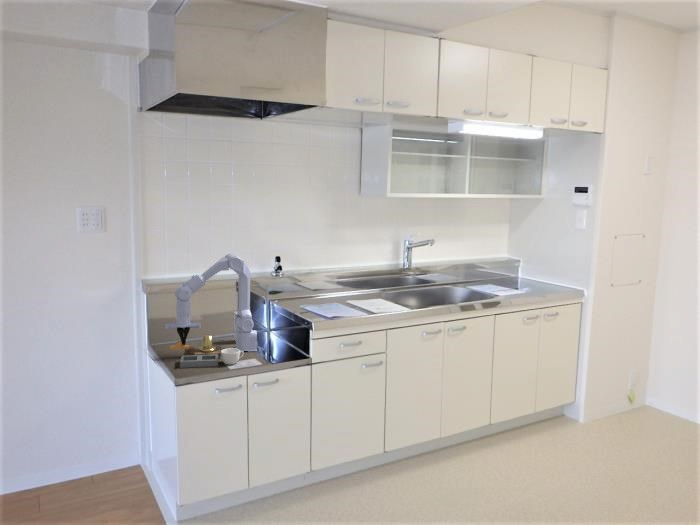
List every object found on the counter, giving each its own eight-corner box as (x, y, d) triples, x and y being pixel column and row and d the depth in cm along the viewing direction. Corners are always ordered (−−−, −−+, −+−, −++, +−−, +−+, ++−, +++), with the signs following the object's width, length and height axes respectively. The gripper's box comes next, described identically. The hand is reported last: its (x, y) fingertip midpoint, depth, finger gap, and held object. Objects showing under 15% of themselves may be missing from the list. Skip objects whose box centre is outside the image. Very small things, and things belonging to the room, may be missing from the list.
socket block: (220, 351, 259) (220, 343, 258) (220, 358, 248) (220, 350, 248) (186, 352, 256) (185, 344, 255) (184, 360, 245) (184, 352, 245)
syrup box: (236, 343, 271) (236, 313, 269) (233, 340, 277) (233, 311, 275) (248, 342, 274) (248, 313, 271) (245, 339, 279) (245, 310, 277)
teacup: (225, 367, 238) (225, 354, 237) (217, 362, 244) (217, 349, 243) (247, 363, 244) (247, 350, 243) (239, 358, 250) (239, 346, 249)
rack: (218, 359, 247) (218, 354, 247) (217, 366, 239) (217, 360, 238) (181, 361, 244) (181, 355, 243) (180, 367, 236) (180, 361, 235)
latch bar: (189, 347, 251) (189, 340, 251) (188, 348, 249) (188, 341, 249) (170, 347, 250) (169, 341, 249) (169, 349, 247) (169, 342, 247)
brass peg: (216, 352, 257) (215, 333, 255) (215, 357, 250) (215, 337, 249) (199, 353, 255) (199, 333, 254) (199, 358, 248) (198, 338, 247)
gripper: (164, 316, 242) (165, 347, 244) (200, 315, 245) (200, 346, 247) (166, 312, 249) (167, 343, 251) (200, 311, 252) (201, 341, 254)
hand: (183, 344), depth 250 cm, fingers closed
